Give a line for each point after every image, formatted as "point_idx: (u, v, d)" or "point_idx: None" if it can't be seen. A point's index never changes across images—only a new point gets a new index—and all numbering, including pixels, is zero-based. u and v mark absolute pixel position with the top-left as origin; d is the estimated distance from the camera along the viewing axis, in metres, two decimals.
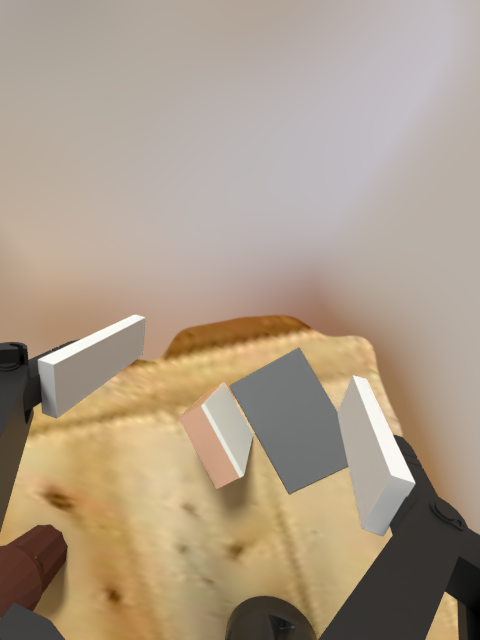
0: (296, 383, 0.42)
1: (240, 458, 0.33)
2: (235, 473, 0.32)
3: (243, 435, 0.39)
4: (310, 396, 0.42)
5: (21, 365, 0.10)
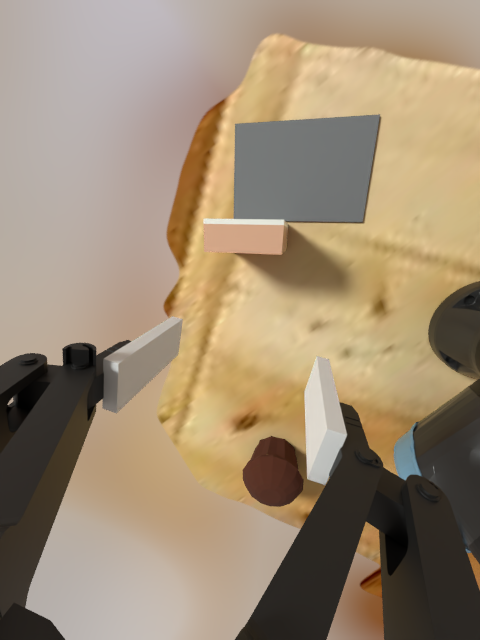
0: (266, 148, 0.38)
1: None
2: (277, 226, 0.30)
3: None
4: (286, 140, 0.38)
5: (90, 365, 0.11)
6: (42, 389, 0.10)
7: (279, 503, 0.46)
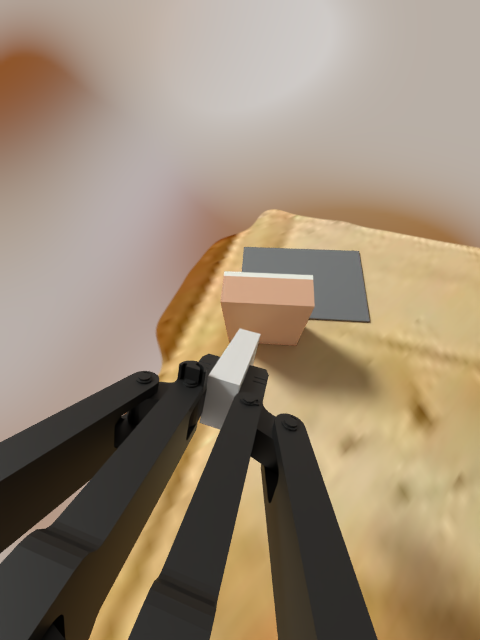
0: (271, 263, 0.44)
1: None
2: (307, 281, 0.28)
3: None
4: (287, 259, 0.44)
5: (198, 385, 0.11)
6: None
7: None
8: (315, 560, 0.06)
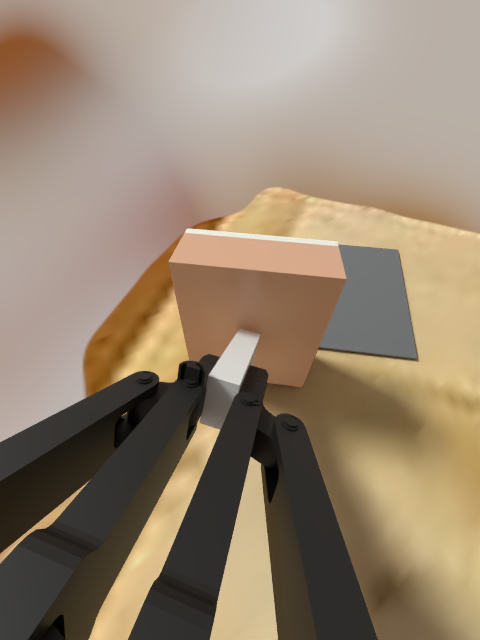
0: None
1: None
2: (327, 247, 0.16)
3: None
4: None
5: (198, 384, 0.11)
6: None
7: None
8: (315, 560, 0.06)
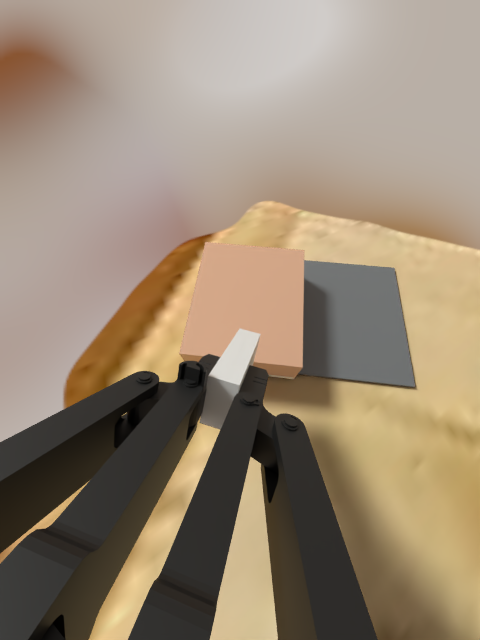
0: None
1: None
2: None
3: None
4: None
5: (198, 385, 0.11)
6: None
7: None
8: (315, 560, 0.06)
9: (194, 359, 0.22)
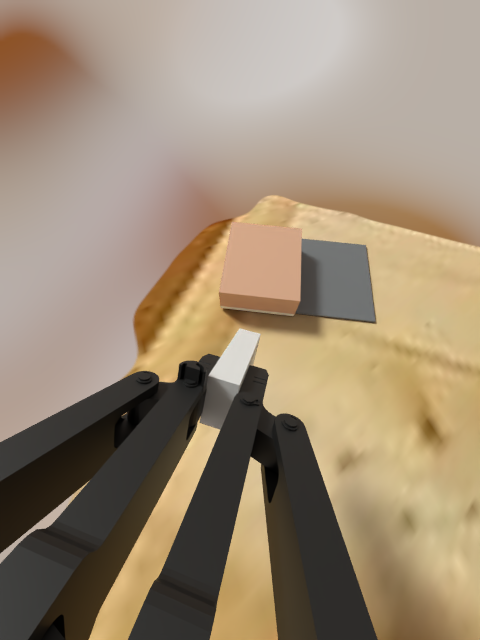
0: None
1: None
2: None
3: None
4: None
5: (198, 384, 0.11)
6: None
7: None
8: (315, 560, 0.06)
9: (227, 298, 0.33)
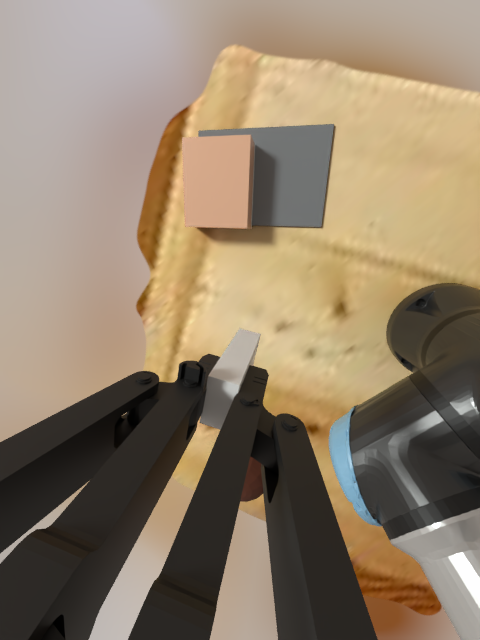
0: None
1: None
2: None
3: None
4: None
5: (198, 385, 0.11)
6: None
7: (245, 499, 0.48)
8: (315, 560, 0.06)
9: None
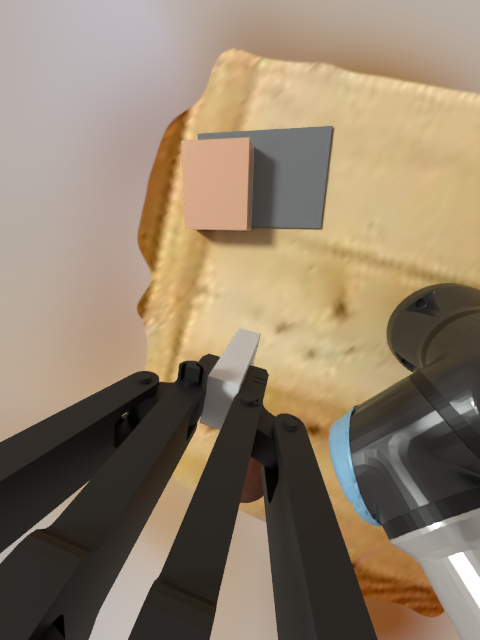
0: None
1: None
2: None
3: None
4: None
5: (198, 385, 0.11)
6: None
7: (247, 500, 0.48)
8: (315, 560, 0.06)
9: None
